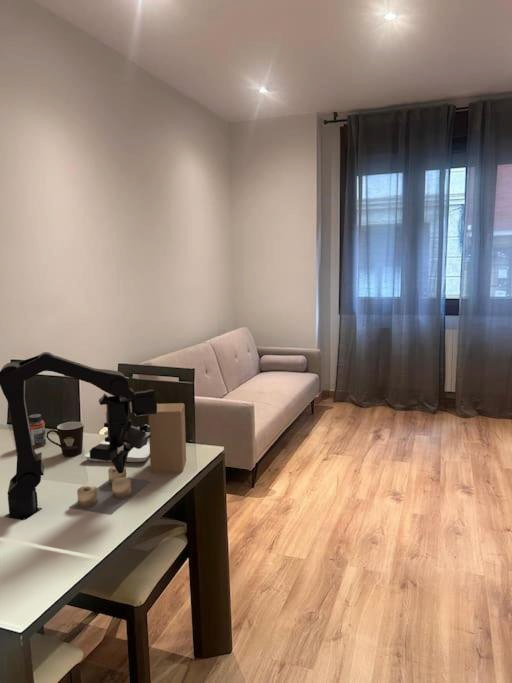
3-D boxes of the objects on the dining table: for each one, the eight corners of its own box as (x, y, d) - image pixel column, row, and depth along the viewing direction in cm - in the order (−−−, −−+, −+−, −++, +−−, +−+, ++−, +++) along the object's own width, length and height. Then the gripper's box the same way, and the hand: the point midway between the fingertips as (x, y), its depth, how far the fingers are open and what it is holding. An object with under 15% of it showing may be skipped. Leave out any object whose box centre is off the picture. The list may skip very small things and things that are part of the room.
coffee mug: (90, 450, 172) (88, 422, 170) (75, 459, 163) (73, 430, 162) (62, 447, 175) (60, 420, 173) (46, 455, 166) (43, 427, 165)
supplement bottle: (28, 444, 178) (25, 414, 176) (45, 441, 181) (43, 412, 179) (28, 449, 173) (25, 418, 171) (46, 446, 175) (44, 416, 174)
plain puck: (124, 500, 132) (124, 486, 131) (109, 497, 134) (108, 483, 133) (134, 492, 137) (134, 478, 136) (119, 489, 138) (118, 476, 138)
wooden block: (186, 461, 160) (184, 402, 157) (182, 474, 150) (180, 411, 147) (156, 462, 160) (153, 403, 157) (150, 474, 150) (147, 412, 147)
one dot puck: (90, 509, 127) (89, 493, 127) (74, 506, 129) (73, 491, 128) (101, 500, 132) (100, 485, 131) (86, 498, 133) (85, 483, 133)
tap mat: (111, 516, 124) (110, 514, 124) (68, 509, 128) (68, 507, 128) (152, 482, 144) (152, 481, 144) (114, 477, 148) (114, 475, 148)
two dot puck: (120, 486, 140) (119, 472, 140) (105, 484, 142) (104, 470, 141) (129, 479, 145) (129, 466, 145) (115, 477, 147) (114, 464, 146)
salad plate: (109, 443, 179) (108, 434, 179) (165, 444, 177) (164, 435, 177) (83, 466, 158) (82, 456, 158) (146, 467, 156) (146, 457, 156)
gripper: (124, 431, 121) (127, 490, 123) (161, 411, 138) (163, 463, 141) (86, 427, 124) (90, 485, 126) (127, 408, 142) (129, 459, 144)
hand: (120, 472), depth 134 cm, fingers closed
